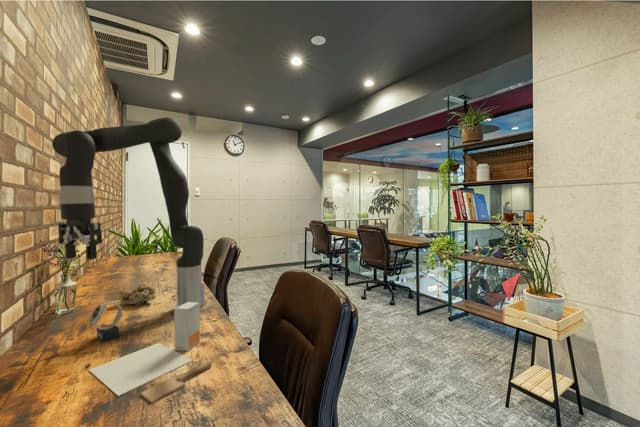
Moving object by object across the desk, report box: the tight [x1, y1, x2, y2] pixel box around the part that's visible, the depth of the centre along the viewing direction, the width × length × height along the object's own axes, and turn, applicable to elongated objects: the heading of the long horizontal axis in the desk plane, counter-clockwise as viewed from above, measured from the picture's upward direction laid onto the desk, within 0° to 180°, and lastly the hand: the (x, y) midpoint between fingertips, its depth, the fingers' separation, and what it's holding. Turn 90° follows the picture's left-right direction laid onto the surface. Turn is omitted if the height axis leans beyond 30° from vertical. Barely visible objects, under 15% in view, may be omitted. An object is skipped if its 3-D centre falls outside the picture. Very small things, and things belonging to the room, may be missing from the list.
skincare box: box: [173, 302, 201, 352], centre depth 84 cm, size 6×4×12 cm
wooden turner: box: [140, 360, 212, 404], centre depth 67 cm, size 15×5×1 cm, turn 145°
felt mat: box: [88, 342, 193, 397], centre depth 74 cm, size 17×18×1 cm
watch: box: [90, 301, 124, 343], centre depth 90 cm, size 6×8×11 cm
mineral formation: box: [118, 282, 157, 306], centre depth 124 cm, size 8×13×15 cm
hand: (81, 258), depth 83 cm, fingers open, 8 cm apart
